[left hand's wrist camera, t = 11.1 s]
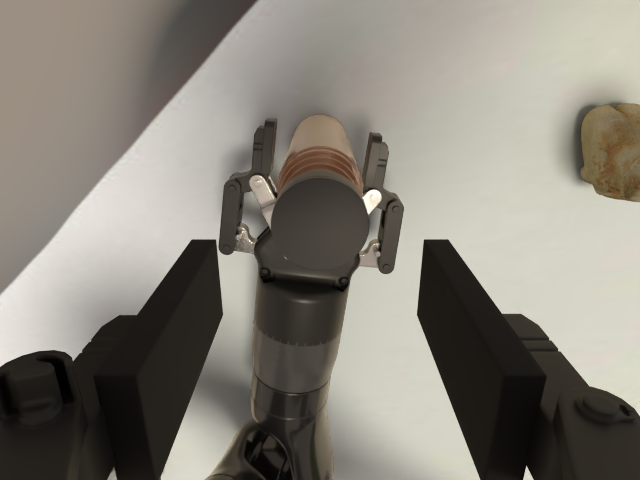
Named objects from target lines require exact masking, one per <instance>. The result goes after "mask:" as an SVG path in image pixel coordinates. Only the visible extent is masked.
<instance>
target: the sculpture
mask: <svg viewBox="0 0 640 480" xmlns="http://www.w3.org/2000/svg"><path fill="white" fill-rule="evenodd" d="M581 142H582V152H583V158H584V166H583V167H582V168H581V170H580V172H581V177H582V179H583V180H585V181H586V182H588V183H591V184H593V187H594V189H595V191H596V193H597V194H599V195H603V196H605V197H609V198H613V199H619V200H627V201H633V202H640V105H638V104H629V103H627V104H619V105H617V106H616V108H615V109H614V108H613V107H611V106H610V105H603V106H599V107H596V108H594V109H592V110H590V111H589V112H588V113H587V115H586V116H585V118H584V120H583V123H582V127H581Z"/></svg>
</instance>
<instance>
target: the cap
mask: <svg viewBox="0 0 640 480" xmlns="http://www.w3.org/2000/svg"><path fill="white" fill-rule="evenodd" d="M271 232H272V237H273V239H274V242H275V244H276V246H277V248H278V249H279V250H280V252H281V253H282V254H283V255H284V256H285V257H286V258H287V259H288V260H289V261H291V262H292V263H294V264H296V265H298V266H300V267H303V268H306V269H310V270H318V271H321V270H330V269H334V268H338V267H340V266H342V265H344V264H346V263H348V262H349V261H350V260H352V259H353V258H354V257H355V256H356V255H357V254H358V253H359V252H360V251H361V249H362V248H363V246H364V244H365V242H366V240H367V236H368V232H369V216H368V212H367V208H366V205H365V202H364V199H363V197H362V195H361V193H360V191H359V190H358V188H357V187H356V186H355V185H354V184H353V183H352V182H351V181H350V180H349V179H347V178H346V177H344V176H342V175H341V174H338V173H336V172H332V171H328V170H313V171H308V172H304V173H302V174H300V175H297V176H296V177H294V178H293V179H291V180H290V181H289V182H288V183H287V184H286V185H285V186H284V187H283V188H282V190H281V191H280V193H279V195H278V197H277V199H276V202H275V205H274V208H273V212H272V216H271Z"/></svg>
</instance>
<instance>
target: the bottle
mask: <svg viewBox="0 0 640 480" xmlns="http://www.w3.org/2000/svg"><path fill="white" fill-rule="evenodd" d="M313 170H328V171H332V172H336V173H338V174H341V175H342V176H344V177H346V178H347V179H349V180H350V181H351V182H352V183H353V184H354V185H355V186H356V187H357V188H358V190H359V191H360V193H361V195H362V193H363V183H362V177H361V174H360V171H359V168H358V166H357V163H356V160H355V157H354V155H353V152H352V149H351V146H350V144H349V141H348V138H347V135H346V133H345V130H344V128H343V127H342V125H341V124H340V123H339V122H338V121H337V120H335V119H334V118H332V117H330V116H327V115H313V116H310V117H308V118H306V119H305V120H303V121H302V122H301V123H300V124H299V125H298V127H297V128H296V130H295V133H294V135H293V138H292V141H291V144H290V146H289V149H288V152H287V155H286V157H285V160H284V163H283V166H282V168H281V171H280V174H279V177H278V182H277V193H278V195H279V193H280V191H281V190H282V188H283V187H284V186H285V185H286V184H287V183H288V182H289V181H290V180H291V179H293V178H294V177H296V176H297V175H300V174H302V173H304V172H308V171H313Z"/></svg>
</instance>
